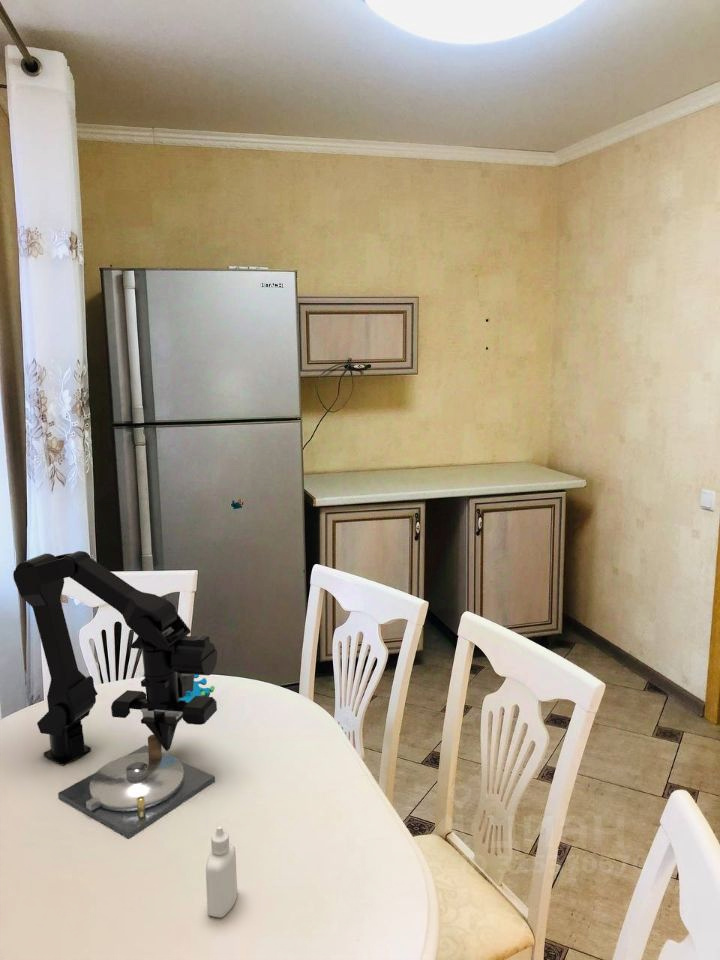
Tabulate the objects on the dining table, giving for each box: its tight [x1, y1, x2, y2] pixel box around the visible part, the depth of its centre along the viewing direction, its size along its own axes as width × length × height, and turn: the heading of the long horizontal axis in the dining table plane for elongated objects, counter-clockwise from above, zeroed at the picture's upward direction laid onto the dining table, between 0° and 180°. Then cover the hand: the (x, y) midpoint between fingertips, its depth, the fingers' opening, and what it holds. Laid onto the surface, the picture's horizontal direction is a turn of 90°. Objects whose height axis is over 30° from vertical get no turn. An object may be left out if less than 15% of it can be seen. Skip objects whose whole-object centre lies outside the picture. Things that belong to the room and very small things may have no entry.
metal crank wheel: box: [86, 733, 184, 811], centre depth 128 cm, size 16×18×5 cm
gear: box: [179, 675, 215, 703], centre depth 160 cm, size 11×6×10 cm
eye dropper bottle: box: [205, 825, 238, 918], centre depth 101 cm, size 4×6×12 cm
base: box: [57, 744, 216, 839], centre depth 129 cm, size 19×19×4 cm
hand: (167, 749), depth 134 cm, fingers closed
